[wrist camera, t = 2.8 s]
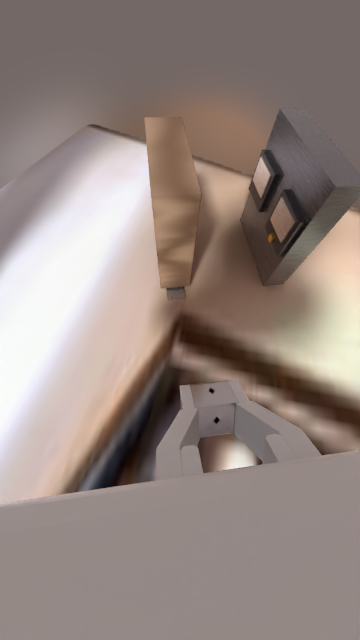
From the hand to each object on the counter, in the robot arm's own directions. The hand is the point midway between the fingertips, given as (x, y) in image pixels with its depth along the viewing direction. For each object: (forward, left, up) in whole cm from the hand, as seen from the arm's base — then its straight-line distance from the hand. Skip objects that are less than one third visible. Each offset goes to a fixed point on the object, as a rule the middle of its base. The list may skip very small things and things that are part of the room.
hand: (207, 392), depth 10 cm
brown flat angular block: (0, +21, -13) cm, 25 cm away
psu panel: (+7, +27, -13) cm, 30 cm away
